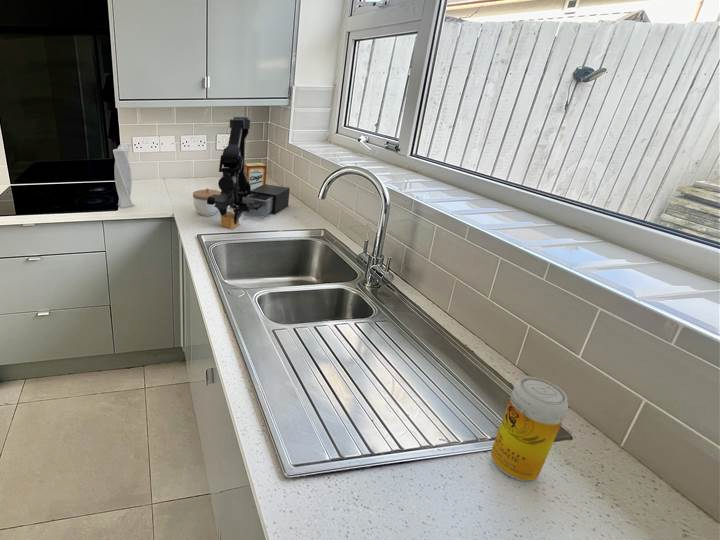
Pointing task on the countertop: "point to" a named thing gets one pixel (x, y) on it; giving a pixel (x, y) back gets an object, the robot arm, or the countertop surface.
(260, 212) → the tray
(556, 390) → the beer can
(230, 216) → the wooden block
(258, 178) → the baking soda box
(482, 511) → the countertop surface
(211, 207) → the lidded bowl
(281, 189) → the drawer box
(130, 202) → the skyscraper
